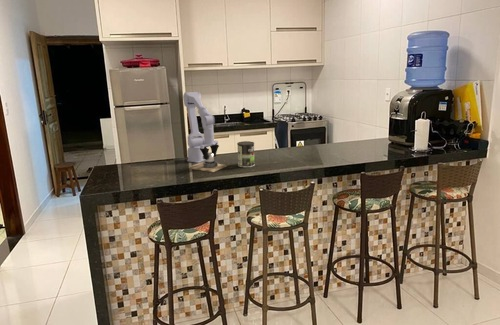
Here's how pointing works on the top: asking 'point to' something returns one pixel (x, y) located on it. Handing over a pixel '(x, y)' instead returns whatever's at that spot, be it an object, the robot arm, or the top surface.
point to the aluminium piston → (210, 158)
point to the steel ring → (210, 164)
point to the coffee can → (245, 154)
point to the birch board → (200, 167)
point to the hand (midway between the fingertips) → (210, 158)
